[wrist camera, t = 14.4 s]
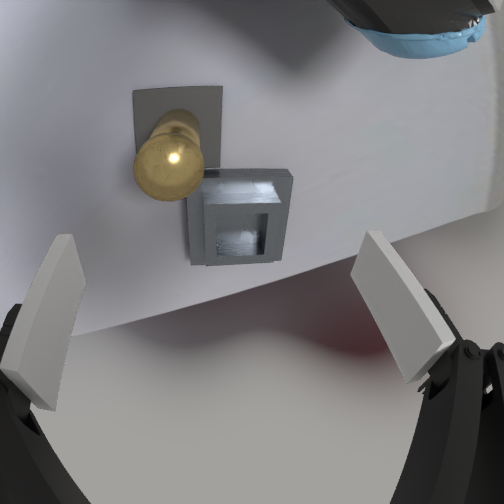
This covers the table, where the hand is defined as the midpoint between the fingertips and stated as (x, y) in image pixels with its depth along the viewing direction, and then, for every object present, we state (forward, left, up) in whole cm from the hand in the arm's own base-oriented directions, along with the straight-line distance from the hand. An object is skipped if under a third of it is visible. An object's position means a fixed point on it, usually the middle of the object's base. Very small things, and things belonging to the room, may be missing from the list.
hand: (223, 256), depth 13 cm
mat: (+1, -3, -28) cm, 28 cm away
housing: (+14, +5, -28) cm, 32 cm away
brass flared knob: (+1, -3, -28) cm, 28 cm away
